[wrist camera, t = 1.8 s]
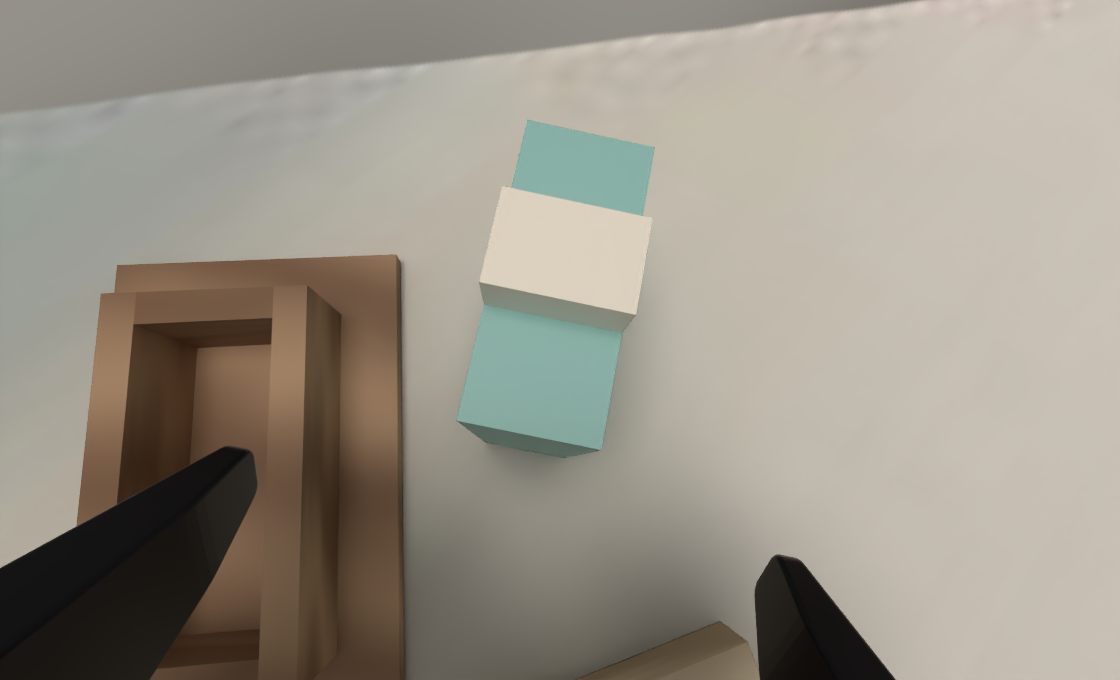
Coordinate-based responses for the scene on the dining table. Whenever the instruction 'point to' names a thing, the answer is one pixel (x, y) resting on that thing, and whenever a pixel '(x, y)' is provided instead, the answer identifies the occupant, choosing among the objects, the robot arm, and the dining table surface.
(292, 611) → the tray
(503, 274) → the teal rectangular box
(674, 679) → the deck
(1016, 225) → the dining table surface
